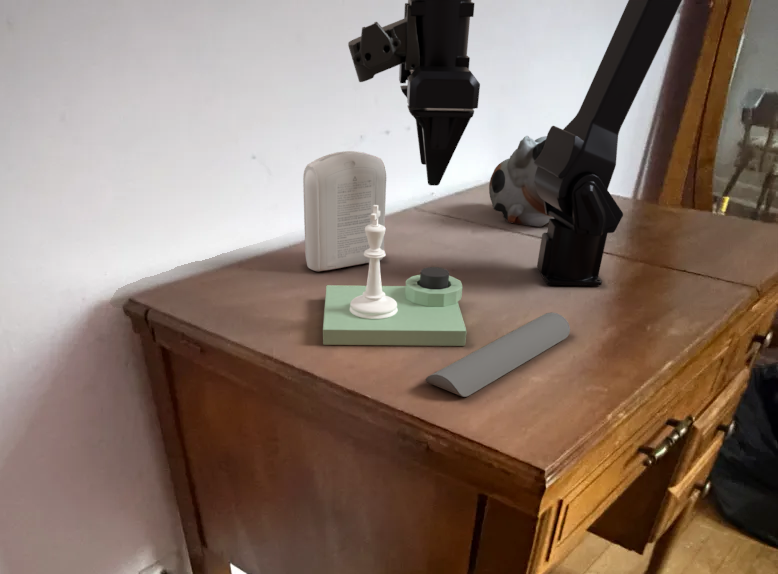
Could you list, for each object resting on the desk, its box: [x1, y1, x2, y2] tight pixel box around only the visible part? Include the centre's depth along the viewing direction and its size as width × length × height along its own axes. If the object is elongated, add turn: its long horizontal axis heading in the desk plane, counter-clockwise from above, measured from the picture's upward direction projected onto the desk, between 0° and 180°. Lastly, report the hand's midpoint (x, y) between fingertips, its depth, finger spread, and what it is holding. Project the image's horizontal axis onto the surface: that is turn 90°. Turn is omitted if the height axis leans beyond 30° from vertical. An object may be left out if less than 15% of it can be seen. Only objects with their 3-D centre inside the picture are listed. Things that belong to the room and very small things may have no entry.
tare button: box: [419, 266, 450, 289], centre depth 76 cm, size 3×3×2 cm
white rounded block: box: [302, 150, 387, 272], centre depth 85 cm, size 10×4×12 cm, turn 123°
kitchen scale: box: [322, 274, 467, 347], centre depth 74 cm, size 14×12×3 cm
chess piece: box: [350, 205, 398, 319], centre depth 70 cm, size 5×5×10 cm
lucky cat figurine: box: [488, 135, 555, 228], centre depth 102 cm, size 15×12×14 cm
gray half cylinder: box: [424, 311, 571, 398], centre depth 68 cm, size 4×20×2 cm, turn 138°
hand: (429, 174), depth 76 cm, fingers open, 9 cm apart
